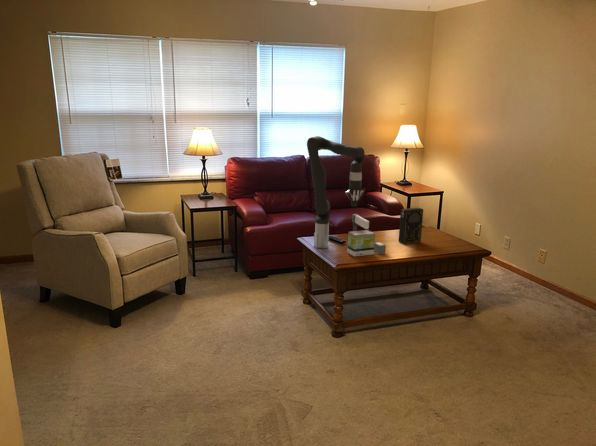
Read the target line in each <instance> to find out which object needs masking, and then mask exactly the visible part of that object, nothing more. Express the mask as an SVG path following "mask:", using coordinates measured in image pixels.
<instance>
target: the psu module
mask: <svg viewBox="0 0 596 446" xmlns="http://www.w3.org/2000/svg"><path fill="white" fill-rule="evenodd" d="M386 248H387V246H386V244H385V243H382V242H380V241H376V242H375V245H374V253H375V254H377V255H386Z"/></svg>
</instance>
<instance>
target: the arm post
mask: <svg viewBox="0 0 596 446" xmlns="http://www.w3.org/2000/svg"><path fill="white" fill-rule="evenodd" d="M357 229H358V224H356V223H354V222H352V231H358V230H357Z"/></svg>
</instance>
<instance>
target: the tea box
mask: <svg viewBox="0 0 596 446" xmlns="http://www.w3.org/2000/svg"><path fill="white" fill-rule="evenodd" d="M375 241H376V233H374V232H372V231H371V230H369V229H364V230H357V231H353V230H352V231H348V236H347V249H346V250H347V251H346V252H347V254H349V255H351V256H353V258H355V257H362V256H371V255H374V253H375V252H374V245H375Z"/></svg>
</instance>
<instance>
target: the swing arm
mask: <svg viewBox="0 0 596 446" xmlns="http://www.w3.org/2000/svg"><path fill="white" fill-rule="evenodd" d="M351 222H352V223H353V222H354V223H356V224H357V226H359V227H362V228H363V229H364V230H369V227H370V221H369V220H368V219H366V218H364V217H362V216H360V215H359V214H358V213H353V214H352V219H351Z"/></svg>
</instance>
